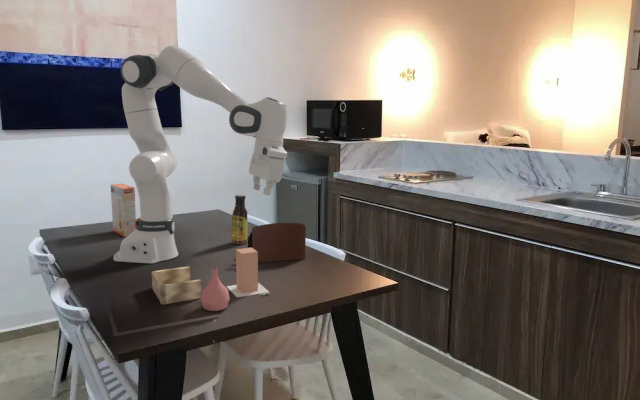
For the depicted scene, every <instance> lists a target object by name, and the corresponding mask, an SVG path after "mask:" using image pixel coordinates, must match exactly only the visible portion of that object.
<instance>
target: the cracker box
mask: <svg viewBox="0 0 640 400" xmlns="http://www.w3.org/2000/svg"><path fill="white" fill-rule="evenodd" d="M135 190H136V189H135V186H134V187H133V186H130V185H128V184H126V183H116V184H115V183H114V184H110V197H111V198H110V199H111V200H110V201H111V215H112V216H111V217H112V231H113V232H114V233H117V234H118V235H120V236H122V237H123V238H126V237H127V236H128V235H129V234H131V233H132V232H133V231H134V230H136V226H135V224H134V223H135V222H136V221H137V213H136V212H137V210H136V191H135Z"/></svg>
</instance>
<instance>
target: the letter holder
mask: <svg viewBox="0 0 640 400" xmlns="http://www.w3.org/2000/svg"><path fill="white" fill-rule="evenodd" d="M306 228H307V227H306V224H304V223H301V222H299V223H298V222H277V223H276V222H272V223H266V224H261V225H256V226H253V227H252V228H251V232H250V233H249V235H247V248H253V249H255V250H256V251H257V252H258V263H269V262H270V261H271V262H281V261H283V260H284V261H293V260H295V259H296V260H305V259H306V257H307V256H306V255H307V254H306V247H307V246H306V245H307V244H306V238H307V237H306V233H307V229H306Z"/></svg>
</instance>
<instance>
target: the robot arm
mask: <svg viewBox="0 0 640 400" xmlns="http://www.w3.org/2000/svg"><path fill="white" fill-rule="evenodd" d="M120 73H121V74H120V75H121V78H122V80H123V81H124V82H125V83H123V85H122V87H121V97H122V98H121V100H122V106H123V107H122V108H123V111H124V116H125V119H126V123H127V128H128V132H129V136H130V138H131V139H132V141H133V142H134V144H136V145H135V146H136V147H137V149H138V151H139V153H138V154H137V155H136V156H134V157H133V158H132V159H131V161H130V162H129V166H128V171H129V174H130V176H131V178H132V179H133V180H134V183H135V186H136V189H137V194H138V198H139V200H138V201H139V210H140V211H139V212H140V217H138V218H136V222H135V223H134V224H135V226H136V230H134V231H133V232H132V233H131V234H129V235H128V236H127V237H124V238H123V239H122V240H121V242H120V245H119V246H120V247H119V250H118V251H117V252H116V253H115V254H114V255H113V257H112V258H113V261H114V262H121V263H123V262H125V263H137V264H138V263H139V264H140V263H141V264H156V263H159V262H162V261H163V262H164V261H168V260H171V259H174V258H177V257H178V256H179V252H178V247H177V245H176V240H175V218H174V217H173V201H172V200H173V199H172V195H171V193H170V190H169V188H168V185H167V178H168V177H169V176H171V175H172V174H173V173H174V172H175V170H176V169H177V162H178V161H177V159H176V156H175V155H174V153H173V151H172V150H171V148H170V145H169V143H168V140H167V139H166V136H165V133H164V131H163V126H162V123H161V118H160V116H159V111H158V106H157V102H156V98H155V97H156V96H155V95H156V93H157V91H160V92H163V91H164V90H165V89H167V88H168V87H171V86H172V85H174V84H175V85H176V86H177V87H179V88H180V89H181V90H182V91H184V92H185V93H188V94H190V95H191V96H194V97H195V98H198V99H202V100H206V101H208V102H211V103H214V104H216V105H218V106H221V107H222V108H223V109H225V110H226V111H227V112H228V113H230V114H229V117H228V121H229V126H230V128H231V129H232V130H233V131H234V132H235V133H237V134H239V135H243V136H248V137H252V138H254V139H255V142H254V148H253V153H252V155H251V159H250V162H249V168H248V169H249V170H248V172H249V174H250V175H252V176H253V177H252V179H253V187H252V188H253V191H254V190H255V191H260V189H261V184H260V182H261V181H260V180H261V179H263V180H265V184H266V185H265V187H264V188H263V194H264V195H266V196H270V195H271V191H272V190H273V189H272V188H273V187H274V185H275V184H274V183H276V184H277V183H280V181H281V180H282V178H283V173H284V167H285V160H286V159H287V157H288V152H287V151H286V150H285V148H284V147H283V146H284V134H285V132H286V127H287V120H288V106H287V105H286V104H285V102H283V101H280V100H277V99H274V98H272V97H266V96H265V97H264V98H262V99H260V100H258V101H255V102H253V103H248V102H247V101H246V100H245V99H243V98H242V97H240V96H239V95H237V93H235V92H233V91H232V90H231V89H230V88H229V87H228V86H227V85H226V84H225V83H223V81H222V80H220V78H218V76H217V75H215V73H214V72H213V71H212V70H211V69H210V68H209V67H207V66H206V64H204V63H203V62H202V61H201V60H200V59H198V58H197V57H196V56H194V55H193V54H192V53H190V52H189V51H187V50H185V49H183V48H181V47H180V46H178V45H168V46H166V47H164V48H163V49H162V50H161V51H160V53H159V54H151V53H149V54H134V55H130V56H128V57H126V58H125V59H124V60H123V61H122V63H121V66H120Z"/></svg>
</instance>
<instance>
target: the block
mask: <svg viewBox="0 0 640 400" xmlns="http://www.w3.org/2000/svg"><path fill="white" fill-rule="evenodd" d="M258 263H259V262H258V252H257V251H256V250H255V249H253V248H248V247H244V248H238V249H237V248H236V249H235V264H236V265H235V268H236V271H235V272H236V273H235V274H236V281H235V282H236V285H237V289H239V290H240V291H241V292H242V293H245V292H251V291H257V290H258V283H259V264H258Z"/></svg>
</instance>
